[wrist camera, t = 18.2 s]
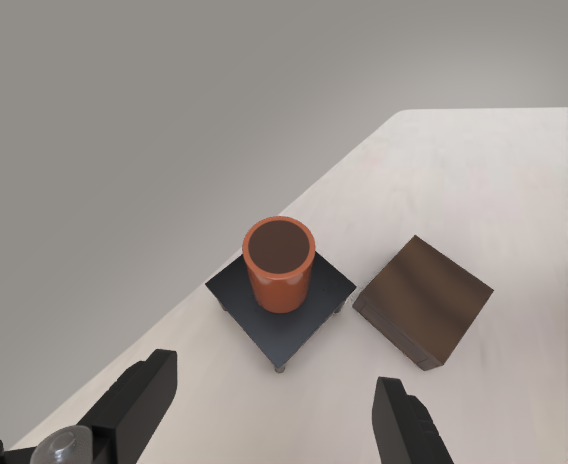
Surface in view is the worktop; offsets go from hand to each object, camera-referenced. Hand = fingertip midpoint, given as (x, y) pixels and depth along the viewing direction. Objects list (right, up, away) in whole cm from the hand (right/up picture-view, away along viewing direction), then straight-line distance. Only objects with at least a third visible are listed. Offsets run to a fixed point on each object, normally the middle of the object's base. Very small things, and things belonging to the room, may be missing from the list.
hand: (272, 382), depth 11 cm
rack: (0, -4, +27) cm, 28 cm away
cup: (0, 0, +20) cm, 20 cm away
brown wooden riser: (+18, -4, +27) cm, 33 cm away
